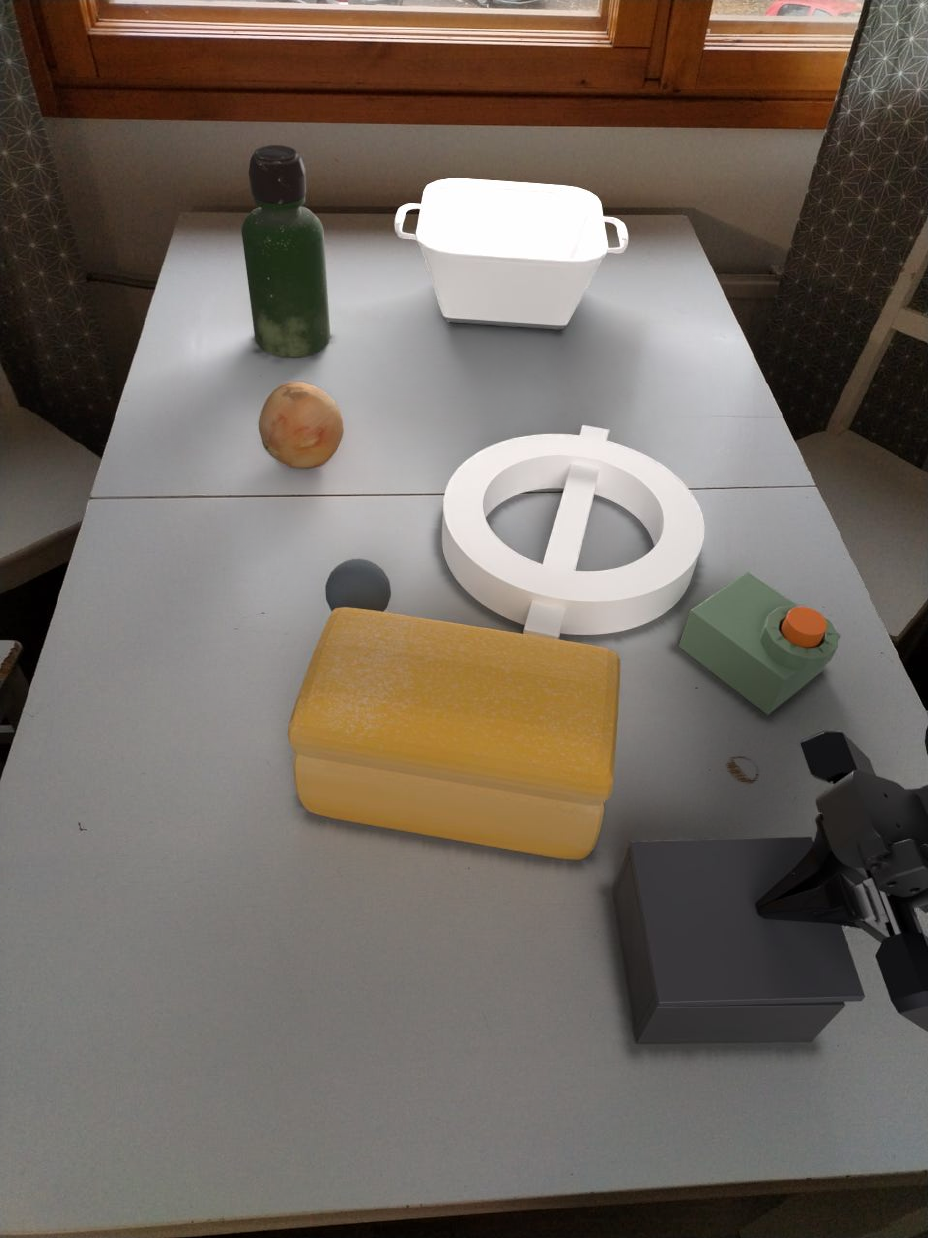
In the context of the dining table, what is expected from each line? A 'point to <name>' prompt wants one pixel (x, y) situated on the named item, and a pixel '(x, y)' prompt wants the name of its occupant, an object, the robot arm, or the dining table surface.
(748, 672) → the control block
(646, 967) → the charcoal lidded box
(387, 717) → the bread
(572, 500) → the white circle with bar
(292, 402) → the orange-brown rounded lump
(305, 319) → the green bottle
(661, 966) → the fryer lid
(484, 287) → the tub
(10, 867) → the dining table surface
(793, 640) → the button
